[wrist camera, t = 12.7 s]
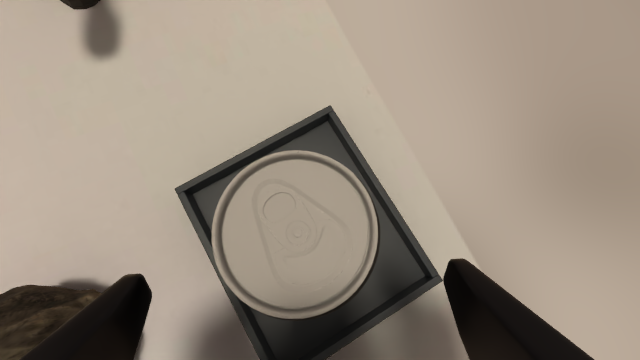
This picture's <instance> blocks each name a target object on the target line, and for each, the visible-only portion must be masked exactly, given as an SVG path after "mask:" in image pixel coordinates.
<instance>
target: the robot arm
mask: <svg viewBox="0 0 640 360" xmlns="http://www.w3.org/2000/svg"><path fill="white" fill-rule="evenodd" d="M444 286H445V289H446V292H447V295H448V299H449V302H450V305H451V309H452V312H453V315H454V318H455V322H456V325H457V328H458V331H459V334H460V337H461V340H462V342H463V345H464V347H465V349H466V352H467V354H468V357H469V359H470V360H594V359H593V358H592V357H590V356H589V355H587V354H586V353H585V352H584V351H583V350H581V349H580V348H579V347H577V346H576V345H575V344H574V343H572V342H571V341H570V340H568V339H567V338H566V337H565V336H563V335H562V334H561V333H559V332H558V331H557V330H556V329H554V328H553V327H552V326H550V325H549V324H548V323H547V322H545V321H544V320H543V319H541V318H540V317H539V316H538V315H536V314H535V313H534V312H532V311H531V310H530V309H529V308H527V307H526V306H525V305H524V304H522V303H521V302H520V301H518V300H517V299H516V298H515V297H513V296H512V295H511V294H509V293H508V292H507V291H505V290H504V289H503V288H502V287H500V286H499V285H498V284H497V283H495V282H494V281H493V280H492V279H490V278H489V277H488V276H486V275H485V274H484V273H483V272H481V271H480V270H479V269H477V268H476V267H475V266H474V265H472V264H471V263H470V262H468V261H467V260H465V259H451V260H450V261H449V263H448V266H447V269H446V272H445V275H444ZM151 299H152V292H151V289H150V288H149V286H148V284H147V282H146V280H145V278H144V276H143V275H141V274H128V275H125V276H123V277H122V278H121V279H119V280H118V281H117V282H116V283H114V284H113V285H112V286H111V287H109V288H108V289H107V290H106V291H104V292H103V293H102V294H101V295H99V296H98V297H97V298H96V299H94V300H93V301H92V302H91V303H89V304H88V305H87V306H86V307H84V308H83V309H82V310H81V311H79V312H78V313H77V314H76V315H74V316H73V317H72V318H71V319H69V320H68V321H67V322H66V323H64V324H63V325H62V326H61V327H59V328H58V329H57V330H56V331H54V332H53V333H52V334H51V335H49V336H48V337H47V338H46V339H44V340H43V341H42V342H41V343H39V344H38V345H37V346H36V347H34V348H33V349H32V350H30V351H29V352H28V353H27V354H25V355H24V356H23V357H22V358H20V359H19V360H133V359H134V356H135V354H136V351H137V348H138V344H139V341H140V337H141V334H142V330H143V327H144V324H145V320H146V317H147V313H148V310H149V306H150V303H151Z"/></svg>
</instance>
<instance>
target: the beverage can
mask: <svg viewBox="0 0 640 360" xmlns="http://www.w3.org/2000/svg"><path fill="white" fill-rule="evenodd" d="M379 247H380V223H379V217H378V213H377V210H376V207H375V204H374V202H373V199H372V197H371V195H370V193H369V191H368V190H367V188H366V187H365V186H364V184H363V183H362V181H361V180H360V179H359V178H358V177H357V176H356V175H355V174H354V173H353V172H352V171H350V170H349V169H348V168H346V167H345V166H344V165H342V164H341V163H339V162H337V161H335V160H333V159H332V158H330V157H327V156H324V155H322V154H318V153H315V152H310V151H300V150H292V151H283V152H278V153H274V154H270V155H267V156H265V157H263V158H261V159H259V160H256V161H255V162H253V163H251V164H250V165H248V166H247V167H246V168H244V169H243V170H242V171H241V172H240V173H239V174H237V176H236V177H235V178H234V179H233V180H232V181H231V182H230V184H229V185H228V186H227V188H226V189H225V191H224V192H223V194H222V196H221V198H220V200H219V202H218V205H217V208H216V210H215V214H214V218H213V224H212V248H213V254H214V258H215V262H216V265H217V267H218V270H219V272H220V274H221V276H222V278H223V279H224V281H225V283H226V284H227V286H228V287H229V288H230V289H231V290H232V292H233V293H234V294H235V295H236V296H237V297H238V298H239V299H240V300H242V301H243V302H244V303H246V304H247V305H248V306H250V307H251V308H253V309H254V310H256V311H258V312H260V313H262V314H264V315H267V316H270V317H273V318H277V319H281V320H289V321H303V320H311V319H316V318H319V317H322V316H325V315H327V314H330V313H332V312H334V311H336V310H338V309H340V308H341V307H342V306H344V305H345V304H347V303H348V302H349V301H351V300H352V299H353V298H354V297H355V296H356V295H357V294H358V293H359V291H360V290H361V289H362V288H363V286H364V285H365V283H366V282H367V280H368V279H369V277H370V275H371V273H372V271H373V269H374V266H375V264H376V261H377V257H378V254H379Z"/></svg>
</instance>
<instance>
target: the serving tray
mask: <svg viewBox="0 0 640 360" xmlns="http://www.w3.org/2000/svg"><path fill="white" fill-rule="evenodd" d="M292 150H300V151H310V152H315V153H318V154H322V155H324V156H327V157H330V158H332V159H333V160H335V161H337V162H339V163H341V164H342V165H344V166H345V167H346V168H348V169H349V170H350V171H352V172H353V173H354V174H355V175H356V176H357V177H358V178H359V179H360V180H361V181H362V183H363V184H364V186H365V187H366V188H367V190H368V191H369V193H370V195H371V197H372V199H373V202H374V204H375V207H376V210H377V213H378V217H379V223H380V247H379V254H378V257H377V261H376V264H375V266H374V269H373V271H372V273H371V275H370V277H369V279H368V280H367V282H366V283H365V285H364V286H363V288H362V289H361V290H360V291H359V293H358V294H357V295H356V296H355V297H354V298H353V299H352V300H351V301H349V302H348V303H347V304H345V305H344V306H342V307H341V308H340V309H338V310H336V311H334V312H332V313H330V314H327V315H325V316H322V317H319V318H316V319H311V320H303V321H289V320H281V319H277V318H273V317H270V316H267V315H264V314H262V313H260V312H258V311H256V310H254V309H253V308H251V307H250V306H248V305H247V304H246V303H244V302H243V301H242V300H240V299H239V298H238V297H237V296H236V295H235V294H234V293H233V292H232V290H231V289H230V288H229V287H228V286H227V284H226V283H225V281H224V279H223V278H222V276H221V274H220V272H219V270H218V267H217V265H216V262H215V258H214V254H213V248H212V224H213V218H214V214H215V210H216V208H217V205H218V202H219V200H220V198H221V196H222V194H223V192H224V191H225V189H226V188H227V186H228V185H229V184H230V182H231V181H232V180H233V179H234V178H235V177H236V176H237V174H239V173H240V172H241V171H242V170H243V169H244V168H246V167H247V166H248V165H250V164H251V163H253V162H255V161H256V160H259V159H261V158H263V157H265V156H267V155H270V154H274V153H278V152H283V151H292ZM175 191H176V193H177V194H178V197H179V199H180V201H181V203H182V205H183V207H184V209H185V211H186V213H187V215H188V217H189V219H190V221H191V223H192V225H193V227H194V229H195V231H196V233H197V235H198V237H199V239H200V241H201V243H202V245H203V247H204V249H205V251H206V253H207V255H208V257H209V259H210V261H211V263H212V265H213V267H214V269H215V271H216V273H217V275H218V277H219V279H220V281H221V283H222V285H223V287H224V289H225V291H226V293H227V295H228V297H229V299H230V301H231V303H232V305H233V307H234V309H235V311H236V313H237V315H238V317H239V319H240V321H241V323H242V325H243V327H244V329H245V331H246V333H247V335H248V337H249V339H250V341H251V343H252V345H253V347H254V349H255V351H256V353H257V355H258V357H259V359H260V360H325V359H326V358H328V357H329V356H331V355H332V354H334V353H335V352H337V351H338V350H340V349H341V348H343V347H344V346H346V345H347V344H349V343H350V342H352V341H353V340H355V339H356V338H358V337H359V336H361V335H362V334H364V333H365V332H367V331H368V330H370V329H371V328H373V327H374V326H376V325H377V324H379V323H380V322H382V321H383V320H385V319H386V318H388V317H389V316H391V315H392V314H394V313H395V312H397V311H398V310H400V309H401V308H403V307H404V306H406V305H407V304H409V303H410V302H412V301H413V300H415V299H416V298H418V297H419V296H421V295H422V294H424V293H425V292H427V291H428V290H430V289H431V288H433V287H434V286H436V285H437V284H439V283H440V282H442V281H443V280H442V279H441V277H440V275H438V272H437V271H436V269H435V268H434V266H433V264H432V263H431V261H430V260H429V258H428V257H427V255H426V254H425V252H424V250H423V249H422V247H421V246H420V244H419V243H418V241H417V240H416V238H415V236H414V235H413V233H412V232H411V230H410V229H409V227H408V225H407V224H406V222H405V221H404V219H403V218H402V216H401V215H400V213H399V211H398V210H397V208H396V207H395V205H394V204H393V202H392V201H391V199H390V197H389V196H388V194H387V193H386V191H385V190H384V188H383V186H382V185H381V183H380V182H379V180H378V179H377V177H376V176H375V174H374V172H373V171H372V169H371V168H370V166H369V165H368V163H367V161H366V160H365V158H364V157H363V155H362V154H361V152H360V151H359V149H358V147H357V146H356V144H355V143H354V141H353V140H352V138H351V137H350V135H349V133H348V132H347V130H346V129H345V127H344V126H343V124H342V122H341V121H340V119H339V118H338V116H337V115H336V113H335V112H334V111H333V108H332V107H331V106H328V107H326V108H324V109H322V110H321V111H319V112H317V113H315V114H313V115H311V116H309V117H308V118H306V119H304V120H302V121H300V122H298V123H296V124H294V125H293V126H291V127H289V128H287V129H285V130H283V131H281V132H280V133H278V134H276V135H274V136H272V137H270V138H268V139H266V140H265V141H263V142H261V143H259V144H257V145H255V146H253V147H252V148H250V149H248V150H246V151H244V152H242V153H240V154H239V155H237V156H235V157H233V158H231V159H229V160H227V161H225V162H224V163H222V164H220V165H218V166H216V167H214V168H212V169H211V170H209V171H207V172H205V173H203V174H201V175H199V176H197V177H196V178H194V179H192V180H190V181H188V182H186V183H184V184H183V185H181V186H179V187H177V188H175Z"/></svg>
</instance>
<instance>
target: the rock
mask: <svg viewBox="0 0 640 360" xmlns="http://www.w3.org/2000/svg"><path fill="white" fill-rule="evenodd" d="M101 294H102V293H100V292H98V291H97V290H95V289H88V290H81V291H80V290H74V289H68V288H62V287H55V286H37V285H25V286H21V287H16V288H13V289H11V290H9V291H7V292H5V293H3V294H0V360H19V359H20V358H22V357H23V356H24V355H25V354H27V353H28V352H29V351H30V350H32V349H33V348H34V347H36V346H37V345H38V344H39V343H41V342H42V341H43V340H44V339H46V338H47V337H48V336H49V335H51V334H52V333H53V332H54V331H56V330H57V329H58V328H59V327H61V326H62V325H63V324H64V323H66V322H67V321H68V320H69V319H71V318H72V317H73V316H74V315H76V314H77V313H78V312H79V311H81V310H82V309H83V308H84V307H86V306H87V305H88V304H89V303H91V302H92V301H93V300H94V299H96V298H97V297H98V296H99V295H101Z"/></svg>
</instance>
